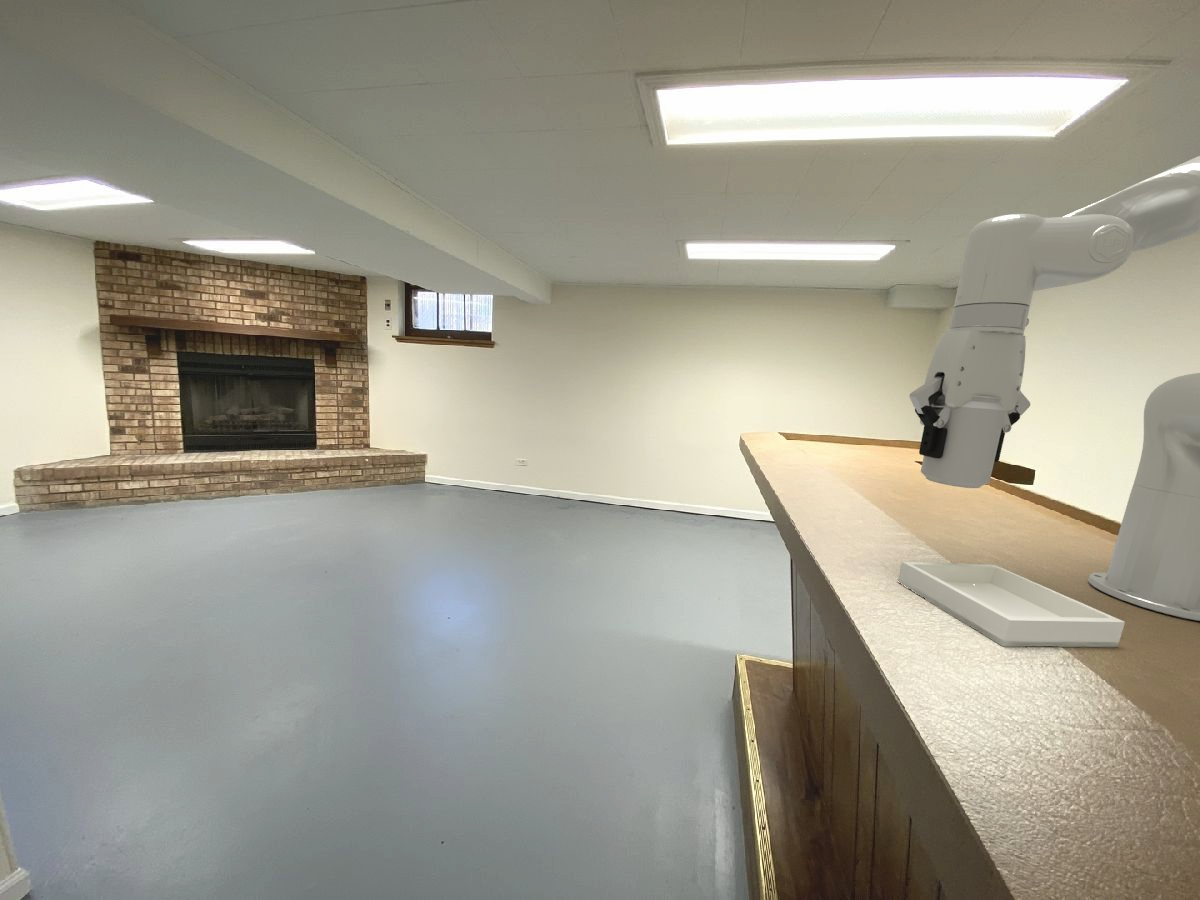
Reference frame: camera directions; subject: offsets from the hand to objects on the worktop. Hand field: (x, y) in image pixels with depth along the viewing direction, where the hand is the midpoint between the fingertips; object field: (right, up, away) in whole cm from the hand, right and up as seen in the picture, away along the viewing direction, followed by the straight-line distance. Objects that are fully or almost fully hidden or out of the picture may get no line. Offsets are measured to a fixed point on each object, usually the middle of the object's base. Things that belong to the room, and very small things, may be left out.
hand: (957, 457), depth 62 cm
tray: (+1, -19, -5) cm, 19 cm away
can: (0, -4, +1) cm, 4 cm away
